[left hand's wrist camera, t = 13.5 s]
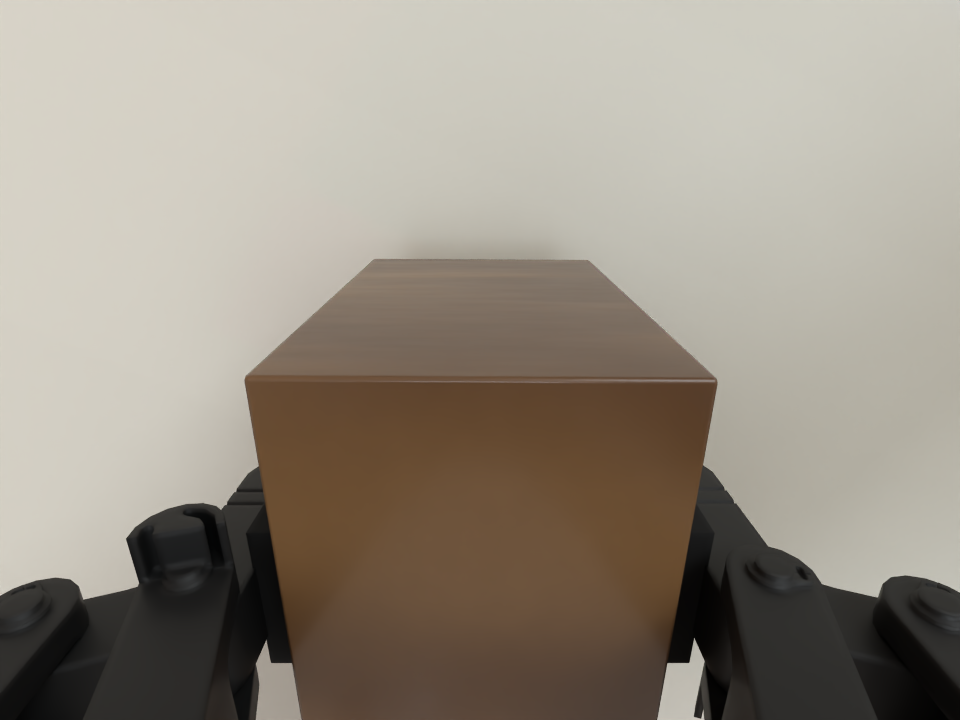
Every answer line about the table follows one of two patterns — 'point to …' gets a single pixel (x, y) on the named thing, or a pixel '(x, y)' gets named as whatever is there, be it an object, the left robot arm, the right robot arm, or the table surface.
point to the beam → (480, 493)
